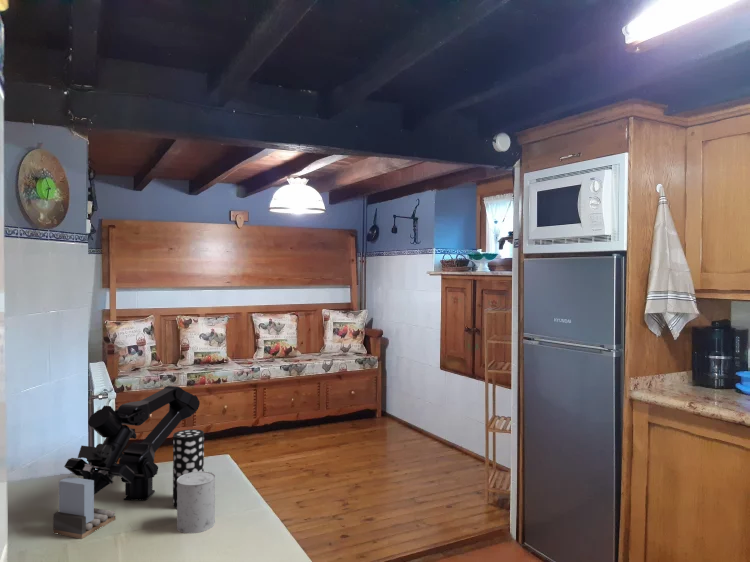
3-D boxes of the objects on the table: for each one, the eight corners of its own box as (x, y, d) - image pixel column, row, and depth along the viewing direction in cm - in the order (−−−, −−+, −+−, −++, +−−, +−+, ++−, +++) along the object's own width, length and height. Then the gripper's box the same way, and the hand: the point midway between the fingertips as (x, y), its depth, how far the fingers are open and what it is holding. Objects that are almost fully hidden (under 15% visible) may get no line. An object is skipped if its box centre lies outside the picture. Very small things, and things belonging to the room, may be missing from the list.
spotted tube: (209, 499, 157) (209, 431, 157) (191, 511, 149) (191, 439, 149) (185, 495, 160) (186, 428, 160) (166, 506, 152) (166, 436, 152)
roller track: (88, 514, 146) (88, 496, 146) (115, 519, 144) (115, 500, 144) (53, 533, 136) (53, 513, 136) (81, 538, 133) (82, 518, 133)
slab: (68, 515, 140) (68, 476, 140) (93, 519, 137) (93, 480, 137) (59, 520, 137) (59, 480, 137) (84, 524, 135) (84, 484, 134)
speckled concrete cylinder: (179, 536, 135) (179, 487, 135) (174, 521, 143) (174, 474, 143) (218, 528, 139) (218, 481, 139) (211, 513, 148) (211, 469, 148)
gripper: (69, 428, 146) (33, 484, 136) (126, 434, 141) (93, 493, 130) (92, 447, 154) (60, 502, 144) (147, 454, 148) (118, 511, 138)
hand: (82, 502), depth 139 cm, fingers closed, pressing on slab
